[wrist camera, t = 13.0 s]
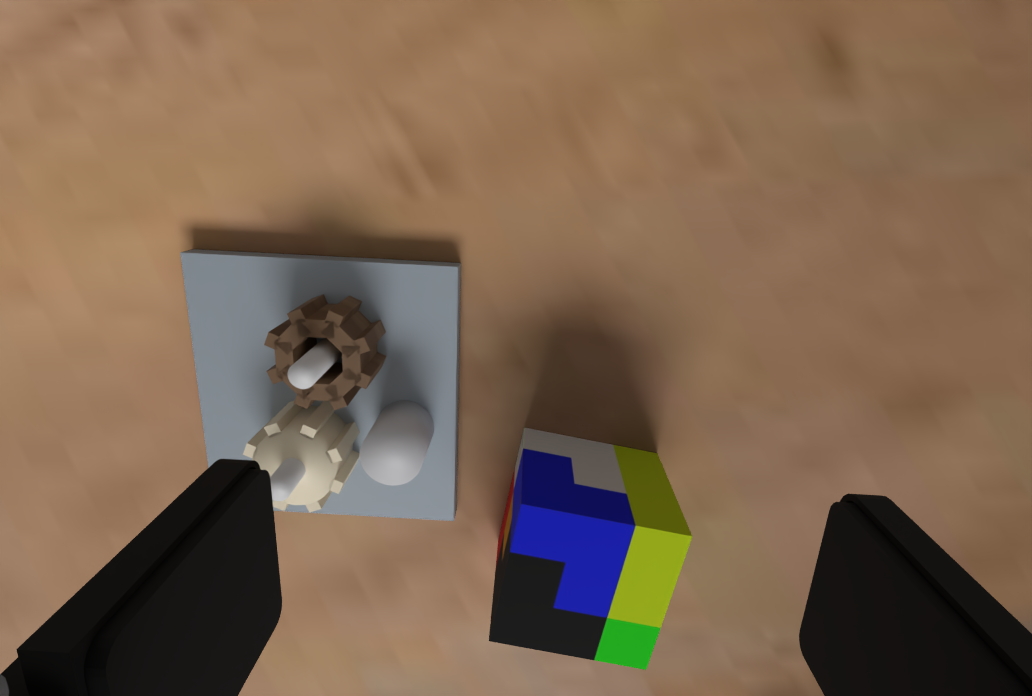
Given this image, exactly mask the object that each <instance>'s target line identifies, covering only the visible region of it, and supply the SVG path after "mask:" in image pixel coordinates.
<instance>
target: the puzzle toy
mask: <svg viewBox="0 0 1032 696" xmlns="http://www.w3.org/2000/svg"><path fill="white" fill-rule="evenodd" d="M691 539H692V535H691V532H690V530H689V527H688V525H687V523H686V520H685V518H684V516H683V513H682V511H681V508H680V506H679V504H678V501H677V499H676V497H675V494H674V492H673V489H672V487H671V485H670V482H669V480H668V478H667V475H666V473H665V471H664V468H663V466H662V463H661V461H660V459H659V456H658V454H657V453H653V452H648V451H643V450H637V449H632V448H627V447H622V446H617V445H612V444H607V443H601V442H596V441H591V440H586V439H581V438H576V437H571V436H565V435H560V434H555V433H550V432H545V431H540V430H535V429H530V428H524V429H523V434H522V438H521V443H520V447H519V451H518V456H517V460H516V465H515V469H514V474H513V478H512V483H511V487H510V492H509V496H508V500H507V505H506V509H505V514H504V518H503V523H502V527H501V532H500V536H499V540H498V550H497V561H496V571H495V582H494V593H493V603H492V614H491V624H490V635H489V641H492V642H497V643H503V644H508V645H514V646H519V647H524V648H530V649H535V650H541V651H546V652H552V653H557V654H563V655H568V656H574V657H579V658H585V659H590V660H596V661H601V662H607V663H612V664H618V665H623V666H629V667H634V668H640V669H645V670H646V668H647V666H648V663H649V660H650V657H651V654H652V651H653V648H654V645H655V643H656V640H657V637H658V634H659V631H660V628H661V625H662V622H663V619H664V617H665V614H666V611H667V608H668V605H669V602H670V599H671V596H672V593H673V591H674V588H675V585H676V582H677V579H678V576H679V573H680V570H681V568H682V565H683V562H684V559H685V556H686V553H687V550H688V547H689V544H690V542H691Z"/></svg>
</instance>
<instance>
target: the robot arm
mask: <svg viewBox="0 0 1032 696" xmlns="http://www.w3.org/2000/svg"><path fill="white" fill-rule="evenodd" d="M281 608H282V596H281V585H280V575H279V564H278V554H277V543H276V533H275V522H274V512H273V501H272V491H271V480H270V475H269V473H268V471H267V470H261V469H260V466H259V464H258V462H256V461H255V460H237V459H219V460H217V461H215V462H214V463H213V464H212V465H211V466H210V467H209V468H208V469H207V470H206V471H205V472H204V473H203V474H202V475H201V476H199V477H198V478H197V479H196V480H195V481H194V482H193V483H192V484H191V485H190V486H189V487H188V488H187V489H186V490H185V491H184V492H183V493H182V494H180V495H179V496H178V497H177V498H176V499H175V500H174V501H173V502H172V503H171V504H170V505H169V506H168V507H167V508H166V509H165V510H164V511H162V512H161V513H160V514H159V515H158V516H157V517H156V518H155V519H154V520H153V521H152V522H151V523H150V524H149V525H148V526H147V527H146V528H144V529H143V530H142V531H141V532H140V533H139V534H138V535H137V536H136V537H135V538H134V539H133V540H132V541H131V542H130V543H129V544H128V545H127V546H125V547H124V548H123V549H122V550H121V551H120V552H119V553H118V554H117V555H116V556H115V557H114V558H113V559H112V560H111V561H110V562H109V563H107V564H106V565H105V566H104V567H103V568H102V569H101V570H100V571H99V572H98V573H97V574H96V575H95V576H94V577H93V578H92V579H91V580H89V581H88V582H87V583H86V584H85V585H84V586H83V587H82V588H81V589H80V590H79V591H78V592H77V593H76V594H75V595H74V596H73V597H72V598H70V599H69V600H68V601H67V602H66V603H65V604H64V605H63V606H62V607H61V608H60V609H59V610H58V611H57V612H56V613H55V614H54V615H52V616H51V617H50V618H49V619H48V620H47V621H46V622H45V623H44V624H43V625H42V626H41V627H40V628H39V629H38V630H37V631H36V632H35V633H33V634H32V635H31V636H30V637H29V638H28V639H27V640H26V641H25V642H24V643H23V644H22V645H21V646H20V647H19V648H18V649H17V653H18V658H17V659H16V660H15V661H14V662H13V663H12V664H11V665H10V666H9V667H8V668H7V669H5V670H4V671H3V672H2V673H1V674H0V696H238V694H239V692H240V691H241V689H242V687H243V685H244V683H245V682H246V680H247V678H248V676H249V674H250V672H251V671H252V669H253V667H254V665H255V663H256V662H257V660H258V658H259V656H260V654H261V653H262V651H263V649H264V647H265V645H266V644H267V642H268V640H269V638H270V636H271V635H272V633H273V631H274V629H275V627H276V625H277V623H278V621H279V617H280V614H281ZM799 641H800V648H801V651H802V654H803V656H804V659H805V660H806V662H807V664H808V666H809V668H810V670H811V672H812V673H813V675H814V677H815V679H816V681H817V683H818V684H819V686H820V688H821V690H822V692H823V694H824V695H825V696H1032V634H1031V633H1030V632H1029V631H1028V630H1027V629H1026V628H1025V627H1024V626H1023V625H1022V624H1021V623H1020V622H1019V621H1018V620H1017V619H1016V618H1015V617H1014V616H1012V615H1011V614H1010V613H1009V612H1008V611H1007V610H1006V609H1005V608H1004V607H1003V606H1002V605H1001V604H1000V603H999V602H998V601H997V600H996V599H995V598H994V597H992V596H991V595H990V594H989V593H988V592H987V591H986V590H985V589H984V588H983V587H982V586H981V585H980V584H979V583H978V582H977V581H976V580H975V579H974V578H972V577H971V576H970V575H969V574H968V573H967V572H966V571H965V570H964V569H963V568H962V567H961V566H960V565H959V564H958V563H957V562H956V561H955V560H954V559H952V558H951V557H950V556H949V555H948V554H947V553H946V552H945V551H944V550H943V549H942V548H941V547H940V546H939V545H938V544H937V543H936V542H935V541H934V540H933V539H931V538H930V537H929V536H928V535H927V534H926V533H925V532H924V531H923V530H922V529H921V528H920V527H919V526H918V525H917V524H916V523H915V522H914V521H913V520H911V519H910V518H909V517H908V516H907V515H906V514H905V513H904V512H903V511H902V510H901V509H900V508H899V507H898V506H897V505H896V504H895V503H894V502H893V501H891V500H890V499H889V498H887V497H886V496H878V495H860V494H847V495H844V496H843V498H842V499H841V500H840V502H835V503H833V505H832V506H831V508H830V510H829V514H828V518H827V522H826V527H825V531H824V535H823V539H822V543H821V547H820V551H819V555H818V559H817V563H816V567H815V571H814V575H813V579H812V583H811V587H810V592H809V596H808V600H807V604H806V608H805V612H804V616H803V620H802V624H801V628H800V634H799Z"/></svg>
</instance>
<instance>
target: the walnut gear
mask: <svg viewBox="0 0 1032 696" xmlns="http://www.w3.org/2000/svg"><path fill="white" fill-rule="evenodd" d="M361 303H362V301H361V300H358V299H356V298H354V297H352V296H348V297H346V298H345V299H344V300H342V301H341V302H340V303H338V304H328V302H327V300H326V298H325V296H324V294H322V295H320V296H317V297H314V298H311V299H310V300H308V301H307V302H305V303H303V304H302V305H300V306H299V307H297V308H295V309H294V310H292V311H290V312H289V313H287V315H288V317H289V319H288V320H286V321H285V322H283V323H282V324H280V325H279V326H277V327H276V328H274V329H272V330H271V331H269V332H268V335H267V338H266V340H265V343H264V345H265V346H267V347H270V348H272V349H274V350H275V362H276V364H275V365H274V366H272V367H271V368H270V369H269V370H267V371H266V372H267V374H268V376H269V377H270V379H271V381H272V383H273V384H275V383H278V382H281V381H283V382H284V383H285V384H287V385H288V386H289V387H290V388H291V389H292V390H293V391H294V392H295V393H296V394H297V396H296V398H295V401H294V404H297V405H299V406H301V407H304V408H306V409H308V408H309V407H310V406H311V404H312V403H313V402H314V401H315V400H319V401H330V403H331V405H332V407H333V409H334V410H337V409H340V408H343V407H346V406H348V405H349V403H350V402H351V401H352V399H353V398H354V397H355V395H356V394H357V393H358V391H359V390H360V389H361V387H362V388H364V389H366V388H367V387H368V386H369V384H370V383H371V382H372V380H373V379H374V377H375V376H376V375H377V373H378V372H379V371H380V369H381V368H382V366H383V364H384V361H385V359H386V357H387V356H385V355H383V354H381V353H379V352H377V342H378V341H379V340H380V339H381V337H382V336H383V335H384V334H385V333H386V331H385V328H384V326H383V324H382V322H381V320H379V321H376V322H373V323H371V322H370V321H369V320H368V319H367V318H366V317H365V316H364V315H363V314H362V313H361V312H360V311H359V308H360V305H361ZM317 338H327V339H328V340H329V341H330V342H331V343H332V344H333V345H334V346H335V347H336V348H337V349H339V350H340V351H341V352H342V363H338V362H335V363H334V364H333V365H332V366H331V367H330V368H329V369H328V370H327V371H326V372H325V373H324V374H323V375H322V376H321V377H320V378H319V379H318V380H317V381H316V382H315V383H314V384H313V385H312V386H311V387H310V388H307V389H299V388H296V387H295V386H293V385H292V384H291V383H290V381H289V379H288V370H289V368H290V367H291V366H292V365H293V364H294V363H295V362H296V361H298V360H299V359H300V358H301V357H302V356H303V355H305V354H306V353H307V352H308V351H309V350H311V349H312V348H313V347H314V346H315V345H316V344H317Z"/></svg>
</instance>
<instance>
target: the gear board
mask: <svg viewBox="0 0 1032 696" xmlns="http://www.w3.org/2000/svg"><path fill="white" fill-rule="evenodd" d="M180 254H181V261H182V269H183V277H184V284H185V292H186V299H187V307H188V315H189V322H190V330H191V337H192V345H193V353H194V360H195V368H196V376H197V383H198V391H199V398H200V406H201V414H202V421H203V429H204V436H205V444H206V452H207V459H208V467H210V466H211V465H212V464H213V463H214V462H215V461H217V460H219V459H237V460H255V461H256V462H258V464H259V466H260V469H261V470H267V471H268V473H269V475H270V480H271V491H272V501H273V511H290V512H307V513H325V514H342V515H359V516H377V517H394V518H412V519H429V520H447V521H454V519H455V514H456V510H457V457H458V399H459V342H460V284H461V263H452V262H433V261H413V260H394V259H374V258H355V257H335V256H316V255H296V254H277V253H257V252H238V251H218V250H199V249H192V250H188V251H185V252H181V253H180ZM322 294H324V296H325V298H326V300H327V302H328V304H338V303H340V302H341V301H342V300H344V299H345V298H346V297H348V296H352V297H354V298H356V299H358V300H361V301H362V303H361V305H360V308H359V311H360V312H361V313H362V314H363V315H364V316H365V317H366V318H367V319H368V320H369V321H370V322H371V323H373V322H376V321H379V320H381V322H382V324H383V326H384V328H385V331H386V333H385V334H384V335H383V336H382V337H381V339H380V340H379V341H378V342H377V352H379V353H381V354H383V355H385V356H387V357H386V359H385V361H384V364H383V366H382V368H381V369H380V371H379V372H378V373H377V375H376V376H375V377H374V379H373V380H372V382H371V383H370V384H369V386H368V387H367V388H366V389H364V388H362V387H361V389H360V390H359V391H358V393H357V394H356V395H355V397H354V398H353V399H352V401H351V402H350V403H349V405H348V406H346V407H343V408H340V409H337V410H334V409H333V407H332V405H331V403H330V401H319V400H315V401H314V402H313V403H312V404H311V406H310V407H309V408H308V409H306V408H304V407H301V406H299V405H297V404H294V401H295V398H296V396H297V394H296V393H295V392H294V391H293V390H292V389H291V388H290V387H289V386H288V385H287V384H285V383H284V382H283V381H281V382H278V383H275V384H273V383H272V381H271V379H270V377H269V376H268V374H267V372H266V371H267V370H269V369H270V368H271V367H272V366H274V365H275V364H276V362H275V350H274V349H272V348H270V347H267V346H265V345H264V343H265V340H266V338H267V335H268V332H269V331H271V330H272V329H274V328H276V327H277V326H279V325H280V324H282V323H283V322H285V321H286V320H288V319H289V317H288V315H287V313H289V312H290V311H292V310H294V309H295V308H297V307H299V306H300V305H302V304H303V303H305V302H307V301H308V300H310V299H311V298H314V297H317V296H320V295H322ZM335 362H338V363H342V352H341V351H340V350H339V349H337V348H336V347H335V346H334V345H333V344H332V343H331V342H330V341H329V340H328V339H327V338H317V344H316V345H315V346H314V347H313V348H312V349H311V350H309V351H308V352H307V353H306V354H305V355H303V356H302V357H301V358H300V359H299V360H298V361H296V362H295V363H294V364H293V365H292V366H291V367H290V368H289V370H288V379H289V381H290V383H291V384H292V385H293V386H295V387H296V388H299V389H307V388H310V387H311V386H312V385H313V384H314V383H315V382H316V381H317V380H318V379H319V378H320V377H321V376H322V375H323V374H324V373H325V372H326V371H327V370H328V369H329V368H330V367H331V366H332V365H333V364H334V363H335Z"/></svg>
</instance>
